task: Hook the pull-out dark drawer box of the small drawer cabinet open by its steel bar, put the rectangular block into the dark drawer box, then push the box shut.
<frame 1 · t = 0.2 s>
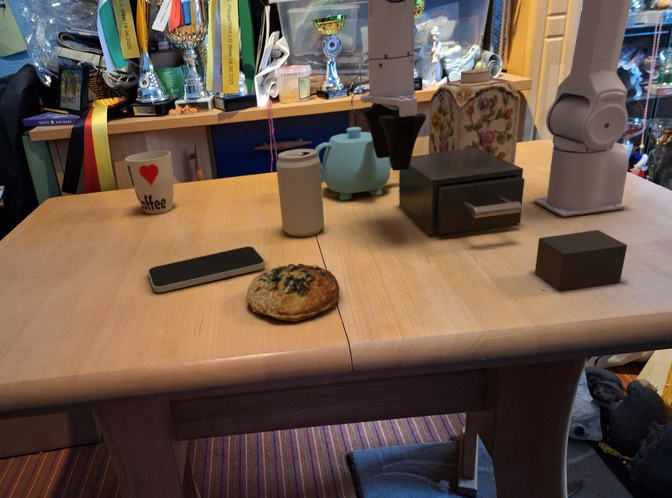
hand: (391, 163, 78), 10 cm above the table, tool pointing down, fingers open, 7 cm apart
cup: (158, 210, 105), on the table
rectangular block: (576, 277, 63), on the table
beverage can: (303, 232, 86), on the table
small drawer cabinet: (454, 215, 85), on the table
bread roll: (292, 302, 65), on the table
decorative jar: (469, 172, 106), on the table
dark drawer box: (468, 197, 80), point 4 cm above the table, slide at 0.5 cm
smartphone: (206, 272, 76), on the table
teapot: (359, 192, 102), on the table
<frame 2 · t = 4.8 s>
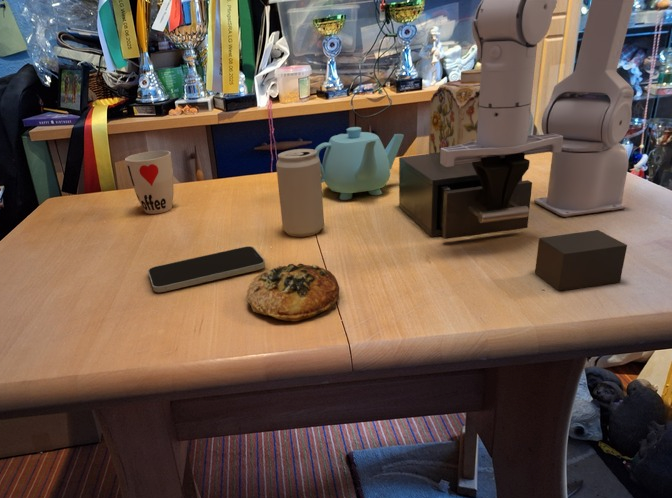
hand: (495, 214, 72), 4 cm above the table, tool pointing down, fingers closed, pressing on dark drawer box
dark drawer box: (474, 201, 78), point 4 cm above the table, slide at 2.5 cm, touching gripper
everything else where it was.
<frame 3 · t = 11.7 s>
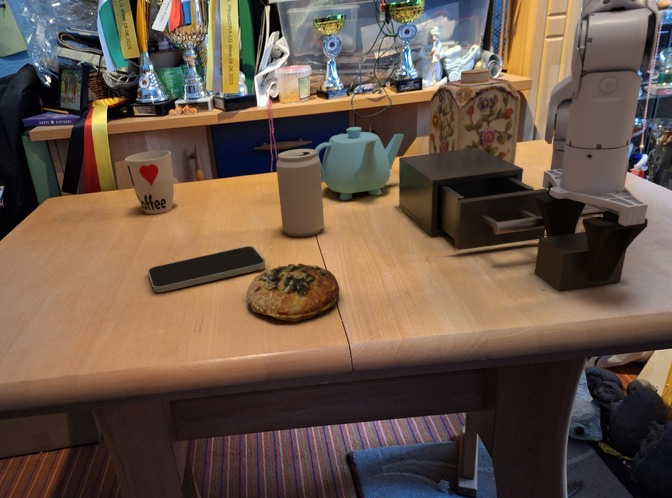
hand: (577, 266, 63), 1 cm above the table, tool pointing down, fingers open, 7 cm apart
dark drawer box: (487, 210, 74), point 4 cm above the table, slide at 6.7 cm, touching gripper
everything else where it was.
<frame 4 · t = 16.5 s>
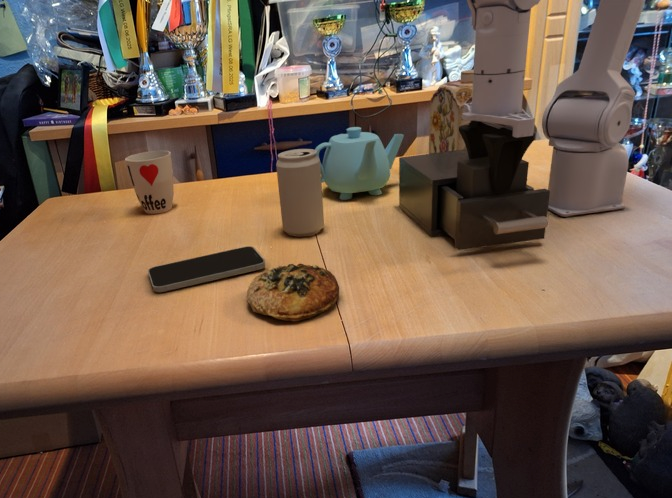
hand: (490, 184, 72), 8 cm above the table, tool pointing down, fingers closed on rectangular block, 5 cm apart
rectangular block: (489, 195, 73), point 6 cm above the table, touching gripper
dark drawer box: (487, 210, 74), point 4 cm above the table, slide at 6.7 cm
everything else where it was.
when the fingers open (9 cm above the table, at t = 28.3 s): rectangular block drops 6 cm, resting on dark drawer box.
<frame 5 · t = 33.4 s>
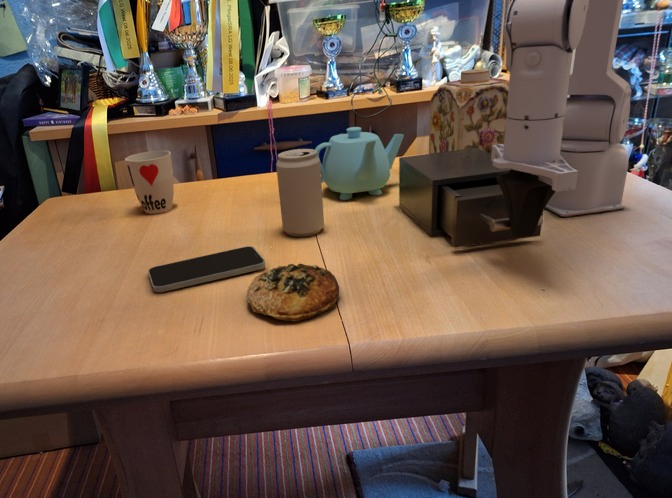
hand: (522, 234, 66), 4 cm above the table, tool pointing down, fingers closed
rectangular block: (483, 223, 76), point 2 cm above the table, touching dark drawer box
dark drawer box: (484, 208, 75), point 4 cm above the table, slide at 5.7 cm, touching gripper, rectangular block
everything else where it was.
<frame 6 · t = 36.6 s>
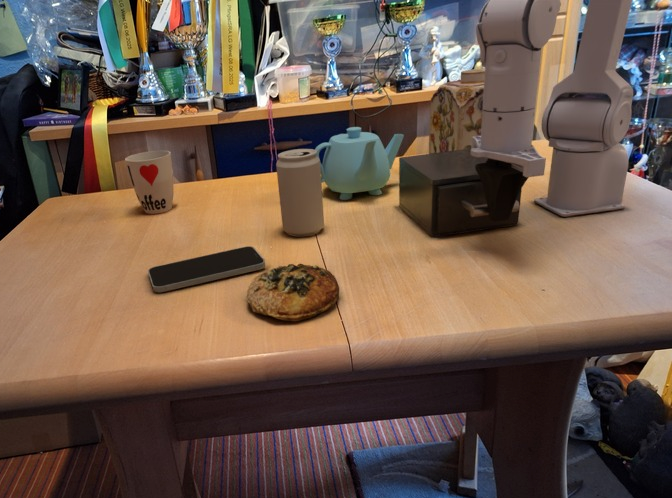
hand: (499, 219, 71), 4 cm above the table, tool pointing down, fingers closed
rectangular block: (466, 211, 81), point 2 cm above the table, touching dark drawer box
dark drawer box: (466, 197, 80), point 4 cm above the table, slide at 0.0 cm, touching small drawer cabinet, gripper, rectangular block
everything else where it was.
at the end: dark drawer box pulled out 7.5 cm at the most during the clip, back to where it started at the end; rectangular block inside the target area in the small drawer cabinet (4.3 cm from its centre), point 2.0 cm above the small drawer cabinet's base; dark drawer box slide at 0.0 cm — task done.
